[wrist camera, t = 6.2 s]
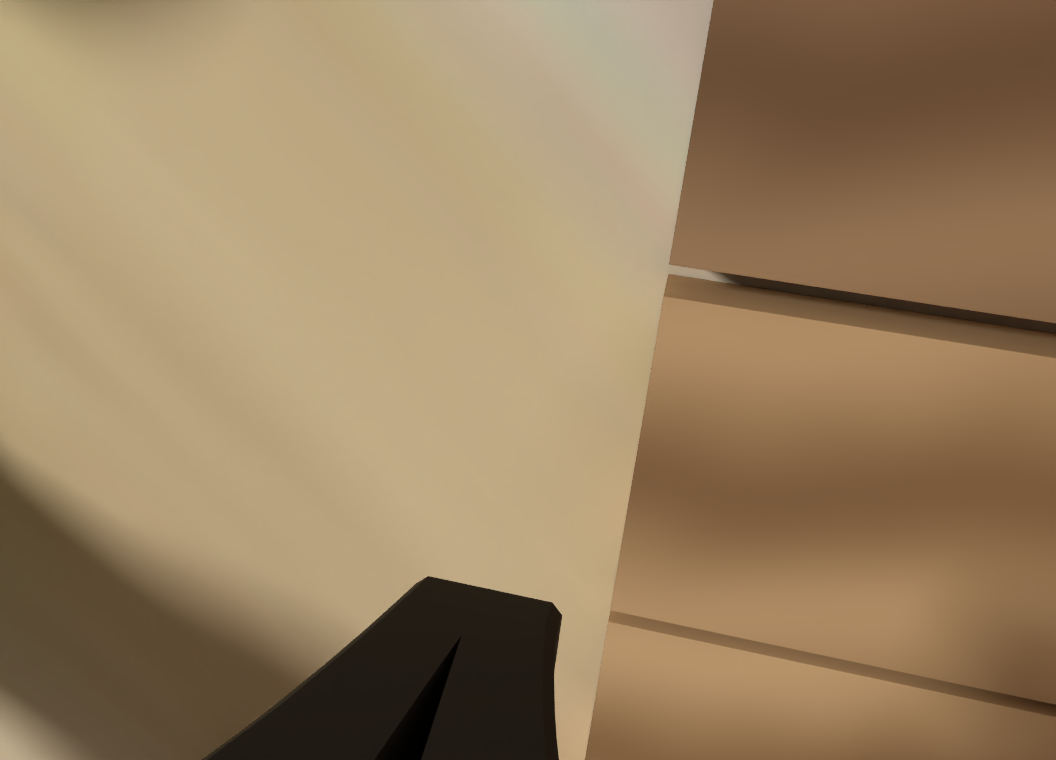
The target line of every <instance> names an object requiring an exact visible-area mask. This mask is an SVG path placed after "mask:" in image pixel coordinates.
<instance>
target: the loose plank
mask: <svg viewBox="0 0 1056 760" xmlns="http://www.w3.org/2000/svg"><path fill="white" fill-rule="evenodd" d="M669 264H670V265H676V266H683V267H689V268H696V269H702V270H709V271H716V272H722V273H729V274H735V275H742V276H748V277H755V278H762V279H768V280H775V281H781V282H788V283H794V284H801V285H807V286H814V287H821V288H827V289H834V290H840V291H847V292H853V293H860V294H867V295H873V296H880V297H886V298H893V299H899V300H906V301H913V302H919V303H926V304H932V305H939V306H945V307H952V308H958V309H965V310H972V311H978V312H985V313H991V314H998V315H1004V316H1011V317H1018V318H1024V319H1031V320H1037V321H1044V322H1050V323H1056V0H714V2H713V8H712V14H711V20H710V25H709V31H708V37H707V43H706V49H705V55H704V61H703V67H702V73H701V79H700V85H699V90H698V96H697V102H696V108H695V114H694V120H693V126H692V132H691V138H690V144H689V150H688V155H687V161H686V167H685V173H684V179H683V185H682V191H681V197H680V203H679V209H678V215H677V220H676V226H675V232H674V238H673V244H672V250H671V256H670V262H669Z"/></svg>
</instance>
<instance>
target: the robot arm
mask: <svg viewBox="0 0 1056 760" xmlns="http://www.w3.org/2000/svg"><path fill="white" fill-rule="evenodd" d="M561 620H562V615H561V613H560V612H559V611H558V610H557V608H556V607H555V606H554V604H553V603H552V602H547V601H542V600H538V599H533V598H528V597H523V596H519V595H514V594H509V593H505V592H500V591H495V590H491V589H486V588H481V587H476V586H472V585H467V584H462V583H458V582H453V581H448V580H443V579H439V578H434V577H429V576H428V577H426V578H424V579H423V580H421V581H420V582H418V583H416V584H415V585H414V586H413V587H412V588H411V589H410V590H409V591H408V592H406V593H405V594H404V595H403V596H402V597H401V598H400V599H399V600H398V601H397V602H396V603H394V604H393V605H392V606H391V607H390V608H389V609H388V610H387V611H386V612H384V613H383V614H382V615H381V616H380V617H379V618H378V619H377V620H376V621H374V622H373V623H372V624H371V625H370V626H369V627H368V628H367V629H365V630H364V631H363V632H362V633H361V634H360V635H359V636H357V637H356V638H355V639H354V640H353V641H352V642H350V643H349V644H348V645H347V646H346V647H345V648H344V649H342V650H341V651H340V652H339V653H338V654H337V655H335V656H334V657H333V658H332V659H331V660H330V661H328V662H327V663H326V664H325V665H324V666H322V667H321V668H320V669H319V670H317V671H316V672H315V673H314V674H312V675H311V676H310V677H309V678H308V679H306V680H305V681H304V682H303V683H301V684H300V685H299V686H298V687H296V688H295V689H294V690H293V691H292V692H290V693H289V694H288V695H287V696H285V697H284V698H283V699H282V700H281V701H279V702H278V703H277V704H276V705H274V706H273V707H272V708H271V709H269V710H268V711H267V712H266V713H264V714H263V715H262V716H261V717H259V718H258V719H257V720H255V721H254V722H253V723H251V724H250V725H249V726H248V727H246V728H245V729H243V730H242V731H241V732H239V733H238V734H237V735H235V736H234V737H233V738H231V739H230V740H229V741H227V742H226V743H224V744H223V745H222V746H220V747H219V748H218V749H216V750H215V751H214V752H212V753H211V754H209V755H208V756H207V757H205V758H204V759H203V760H559V757H558V748H557V738H556V724H555V703H554V669H555V662H556V655H557V648H558V641H559V634H560V627H561Z"/></svg>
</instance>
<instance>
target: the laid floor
mask: <svg viewBox="0 0 1056 760" xmlns="http://www.w3.org/2000/svg"><path fill="white" fill-rule="evenodd" d="M585 760H1056V334H1053V333H1047V332H1040V331H1034V330H1027V329H1021V328H1014V327H1008V326H1001V325H995V324H988V323H982V322H975V321H969V320H962V319H956V318H949V317H943V316H936V315H930V314H923V313H917V312H910V311H904V310H897V309H891V308H884V307H878V306H871V305H865V304H858V303H852V302H845V301H839V300H832V299H826V298H819V297H813V296H806V295H800V294H793V293H787V292H780V291H774V290H767V289H761V288H754V287H748V286H741V285H735V284H729V283H722V282H716V281H709V280H703V279H696V278H690V277H683V276H677V275H670V274H668V279H667V283H666V288H665V293H664V297H663V303H662V309H661V315H660V321H659V327H658V333H657V339H656V344H655V350H654V356H653V362H652V368H651V374H650V380H649V386H648V392H647V398H646V403H645V409H644V415H643V421H642V427H641V433H640V439H639V445H638V451H637V457H636V462H635V468H634V474H633V480H632V486H631V492H630V498H629V504H628V510H627V515H626V521H625V527H624V533H623V539H622V545H621V551H620V557H619V563H618V569H617V574H616V580H615V586H614V592H613V598H612V604H611V611H610V616H609V622H608V628H607V633H606V639H605V645H604V651H603V657H602V663H601V669H600V675H599V681H598V687H597V692H596V698H595V704H594V710H593V716H592V722H591V728H590V734H589V740H588V746H587V751H586V757H585Z"/></svg>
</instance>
